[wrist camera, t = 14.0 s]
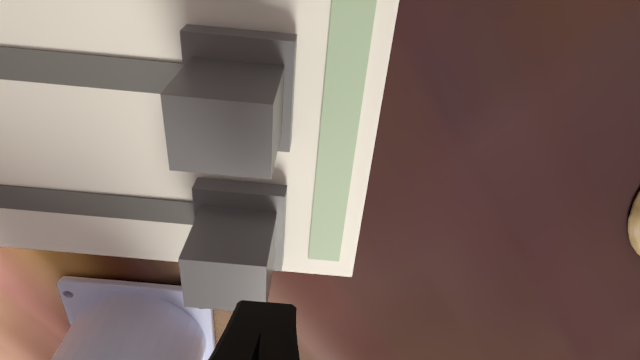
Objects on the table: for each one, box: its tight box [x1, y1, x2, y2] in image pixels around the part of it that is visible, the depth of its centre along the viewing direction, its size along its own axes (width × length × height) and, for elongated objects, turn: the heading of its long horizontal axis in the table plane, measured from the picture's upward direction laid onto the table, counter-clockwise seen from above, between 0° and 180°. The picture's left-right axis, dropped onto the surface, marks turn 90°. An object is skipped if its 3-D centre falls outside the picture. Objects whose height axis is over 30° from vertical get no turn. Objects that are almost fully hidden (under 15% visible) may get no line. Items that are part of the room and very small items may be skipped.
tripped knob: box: [160, 24, 297, 179], centre depth 14 cm, size 4×4×4 cm
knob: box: [178, 177, 287, 311], centre depth 18 cm, size 4×4×4 cm
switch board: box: [0, 0, 399, 277], centre depth 17 cm, size 18×26×2 cm
